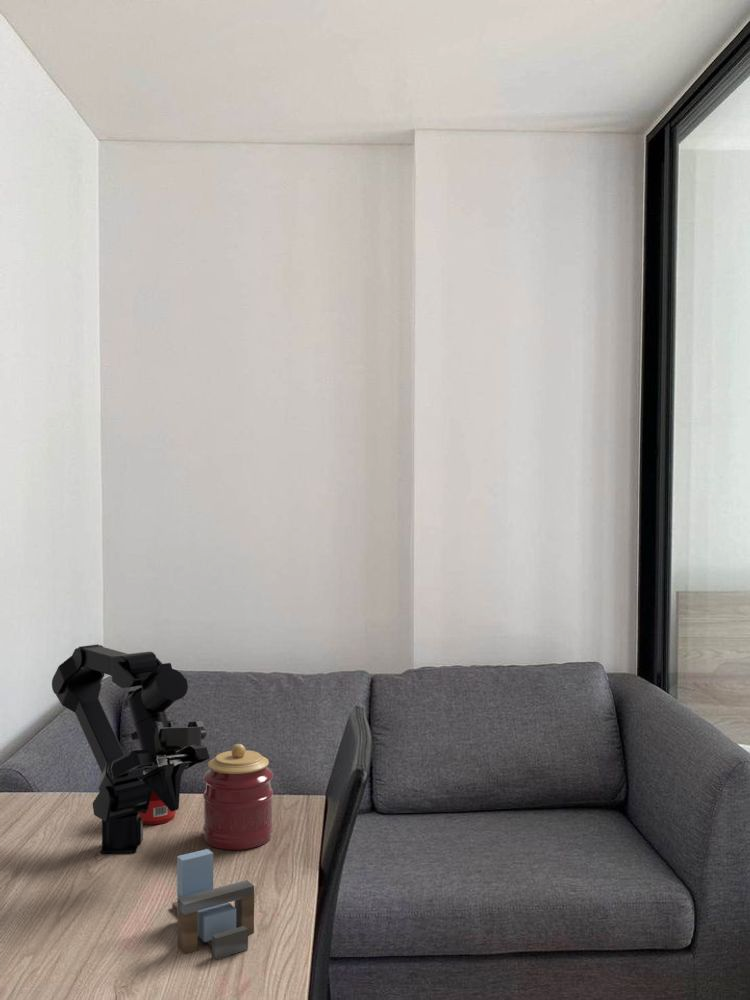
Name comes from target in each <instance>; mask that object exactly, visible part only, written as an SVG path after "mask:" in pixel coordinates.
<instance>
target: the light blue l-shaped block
mask: <svg viewBox="0 0 750 1000" xmlns="http://www.w3.org/2000/svg"><path fill="white" fill-rule="evenodd" d="M176 857H177V861H176V863H177V864H176V865H177V866H176V867H177V868H176V869H177V871H176V873H177V875H176V878H177V880H176V887H177V888H176V889H177V890H176V893H177V894H176V896H177V897H176V898H177V900H176V902H177V912H176V914H177V916H178V898H181V897H185V896H189V895H192V894H196V893H200V892H204V891H207V890H211V889H214V852H213V851H211V850H210V849H209V848H205V849H202V850H197V851H194V852H189V853H184V854H181V855H177V856H176ZM234 928H236V908H235V906H234V905H232V903H231V902H228V903H224V904H221V905H217V906H214V907H210V908H206V909H203V910H199V911H197V937H198V938H200V940H201V941H202V942H204V943H207V941H210V940H212V935H214V934H218V933H221V932H224V931H228V930H231V929H234Z"/></svg>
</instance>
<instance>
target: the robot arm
mask: <svg viewBox="0 0 750 1000" xmlns="http://www.w3.org/2000/svg"><path fill="white" fill-rule="evenodd" d="M105 675H107V676H111V682H112V683H113V684H115V686H118V687H119V688H121V689H127V688H134V687H138V688H137V689H136V690H130V691H129V690H128V692H127V696H126V697H125V698H124V702H123V707H125V708H127V707H129V711H130V715H131V719H132V723H133V727H134V732H132V733H131V734H130V736H131V740H137V742H138V745H139V750H138V749H137V750H131V751H129V752H128V753H126V754H125V752H124V750H123V747H122V745H121V744H120V742H119V740H118V737H117V736H116V735H117V734H116V733H115V731H114V729H113V727H112V724H111V723H110V720H109V719H108V717H107V714H106V712H105V710H104V707H103V706H102V704H101V701H100V699H99V697H100V692H101V689H102V681H103V680H104V677H105ZM51 688H52V691H53V693H54V694H55V695H56V697H57V699H58V702H60V704H61V705H62V706H63V707H65V709H68V711H69V710H70V711H71V712H73V713H74V714H75V716H76V718H77V720H78V723H79V724H80V725H79V726H80V728H81V729H82V731H83V732H82V733H83V734H84V736H85V739H86V740H87V743H88V744H89V745H88V746H89V747H90V750H91V752H92V754H93V756H94V759H95V761H96V762H97V765H98V768H99V770H100V772H101V776H100V780H99V786H98V790H99V792H98V794H97V796H95V799H94V800H93V801H92V810H93V815H94V816H95V817H97V818H99V819H100V820H101V846H100V849H99V854H117V853H118V854H119V853H121V854H122V853H124V854H125V853H127V854H128V853H136V852H137V850H138V849H139V847H140V845H142V842H143V840H144V824H143V818H140V812H142V811H147V810H148V807H149V802H150V797H151V792H152V791H153V792H154V793H155V794H156V795H157V796H158V797H159V798H160V799H161V801H162V802H163V803H164V804H165V805H166V806H167V807H168V809H169V810H170V811H171V812H172V811H176V812H177V811H178V810H179V808H180V794H181V792H180V791H181V780H182V775H183V773H184V772H185V771H187V770H189V769H191V768H193V767H195V766H197V765H199V764H201V763H203V762H206V761H207V760H209V759H210V754H209V752H208V749H207V747H206V746H204V745H203V744H202V740H205V738H206V736H207V731H206V727H205V725H204V722H203V720H195V721H193V720H192V721H191V720H190V721H189V722H188V724H187V726H185V727H184V726H183V727H178V725H177V722H176V721H175V720H169V718H168V715H167V711H168V710H169V709H171V708H172V707H173V706H174V705H175V704H177V703H178V702H179V701H180V700H181V699H182V698H184V697H185V696H186V694H187V693H188V689H189V684H188V680H187V677H185V676H184V675H183V674H182V673H181V672H180V671H179V670H177V669H174V668H173V666H172V663H170V662H165V663H163V662H162V661H161V660H160V659H159V658H158V657H157V655H156V654H155V653H154V652H152V651H142V652H133V653H126V652H123V651H119V650H115V649H111V648H108V647H105V646H103V645H102V644H100V645H99V644H90V645H83V646H78V647H77V648H75V649H74V650H73V652H72V655H71V656H69V657H68V658H67V659H66V660H65V661H63V662H62V663H61V664H59V665H58V666H57V668H56V671H55V672H54V675H53V677H52V680H51ZM166 759H167V760H166Z"/></svg>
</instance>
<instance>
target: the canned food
mask: <svg viewBox="0 0 750 1000" xmlns="http://www.w3.org/2000/svg"><path fill="white" fill-rule="evenodd" d="M166 760H167V759H166ZM176 812H177V810H176V811H172V812H171V811H170V810H169V809H168V807H167V806H166V805H165V804H164V803H163V802H162V801H161V799H160V798H159V797H158V796H157V795H156V794H155V793H154V792H153V791H152V792H151V797H150V802H149V807H148V810H147V811H142V812H140V818H143V825H144V824H148V825H147V826H154V825H153V824H158V825H162V824H161V823H163V824H166V823H168V821H169V822H170V820H171V819H172V820H173V819H174V818H175V815H176ZM172 820H171V821H172ZM165 822H166V823H165Z"/></svg>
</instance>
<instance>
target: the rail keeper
mask: <svg viewBox="0 0 750 1000" xmlns="http://www.w3.org/2000/svg"><path fill="white" fill-rule="evenodd" d="M228 902H229V903H231V902H234V907H235V908H236V928H234V929H231V930H228V931H224V932H221V933H218V934H214V935H212V940H210V941H207V942H206V943H207V945H209V946H210V947H211V956H212V958H213V959H214V960H219V959H223V958H226V957H229V956H228V955H230V956H232V955H231V954H233V955H235V953H236V954H239V953H242V952H245V951H244V950H246V951H248V950H249V935H251V934H254V933H255V885H254V884H252V882H250V881H249V880H247V879H246V880H242V881H239V882H234V883H231V884H227V885H223V886H219V887H216V888H213V889H211V890H207V891H204V892H200V893H196V894H192V895H189V896H185V897H181V898H178V915H177V948H178V949H179V950H180V951H181V952H182V953H183V954H184V953H185V954H188V953H191V952H195V951H197V950H198V935H197V911H199V910H203V909H206V908H210V907H214V906H217V905H221V904H224V903H228ZM171 905H172V907H171V908H172V909H173V910H174V911H175V912H176V913H177V901H174V902H172V904H171ZM247 949H248V950H247ZM241 951H242V952H241ZM238 952H239V953H238Z"/></svg>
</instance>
